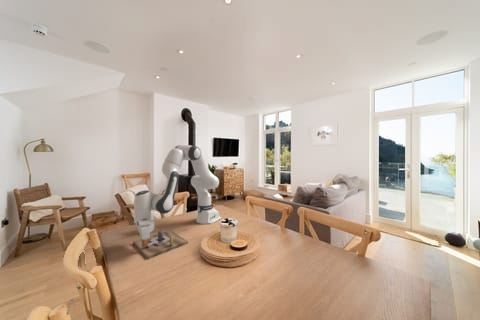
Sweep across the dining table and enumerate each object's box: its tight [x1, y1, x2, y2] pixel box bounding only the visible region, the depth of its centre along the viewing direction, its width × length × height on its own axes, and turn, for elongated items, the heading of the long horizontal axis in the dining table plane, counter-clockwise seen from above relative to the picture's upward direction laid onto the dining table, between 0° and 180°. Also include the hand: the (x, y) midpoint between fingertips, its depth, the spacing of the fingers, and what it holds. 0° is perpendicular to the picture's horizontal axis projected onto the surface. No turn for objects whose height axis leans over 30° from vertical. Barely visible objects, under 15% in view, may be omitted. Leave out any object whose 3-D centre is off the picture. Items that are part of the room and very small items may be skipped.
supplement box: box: [150, 212, 155, 233], centre depth 131 cm, size 7×7×13 cm
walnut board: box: [132, 229, 189, 260], centre depth 113 cm, size 24×24×8 cm
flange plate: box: [142, 235, 170, 247], centre depth 110 cm, size 16×9×6 cm, turn 148°
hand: (142, 241), depth 107 cm, fingers closed
